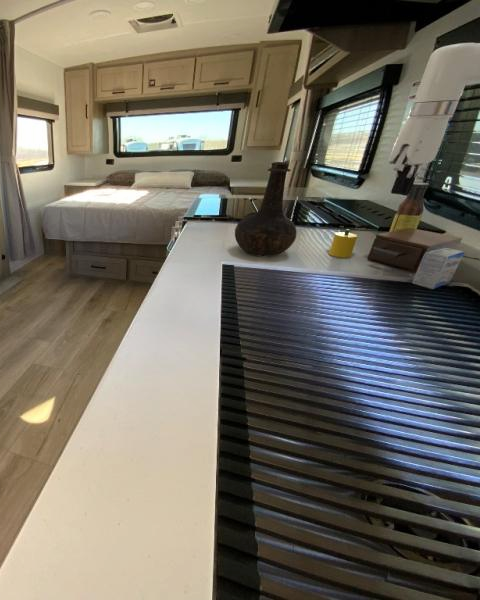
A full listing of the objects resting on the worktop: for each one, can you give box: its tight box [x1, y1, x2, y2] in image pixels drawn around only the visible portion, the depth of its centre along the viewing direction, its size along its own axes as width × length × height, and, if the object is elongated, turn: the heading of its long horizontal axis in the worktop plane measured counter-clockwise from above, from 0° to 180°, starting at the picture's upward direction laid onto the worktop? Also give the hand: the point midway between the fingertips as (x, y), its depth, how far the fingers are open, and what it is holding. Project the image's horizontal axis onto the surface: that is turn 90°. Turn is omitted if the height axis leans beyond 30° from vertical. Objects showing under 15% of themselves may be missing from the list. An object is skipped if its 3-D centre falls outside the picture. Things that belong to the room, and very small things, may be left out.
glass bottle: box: [234, 161, 298, 257], centre depth 104 cm, size 18×18×28 cm
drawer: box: [367, 237, 424, 269], centre depth 96 cm, size 19×11×6 cm, turn 111°
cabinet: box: [367, 228, 463, 273], centre depth 97 cm, size 16×13×8 cm
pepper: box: [328, 228, 358, 259], centre depth 104 cm, size 6×6×8 cm
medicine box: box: [411, 248, 466, 290], centre depth 83 cm, size 8×4×9 cm, turn 114°
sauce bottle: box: [388, 182, 429, 232], centre depth 107 cm, size 7×6×20 cm
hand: (399, 193), depth 84 cm, fingers closed
